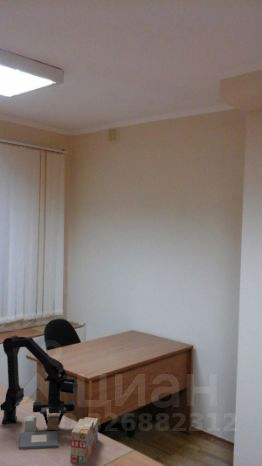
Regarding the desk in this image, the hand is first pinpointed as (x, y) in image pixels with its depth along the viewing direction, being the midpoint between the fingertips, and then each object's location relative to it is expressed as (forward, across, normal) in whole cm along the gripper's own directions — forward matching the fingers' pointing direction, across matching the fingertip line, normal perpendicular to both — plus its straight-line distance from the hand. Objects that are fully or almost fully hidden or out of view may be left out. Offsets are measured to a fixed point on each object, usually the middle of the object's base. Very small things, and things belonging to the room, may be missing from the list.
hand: (52, 425), depth 198 cm
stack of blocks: (+2, +13, -21) cm, 25 cm away
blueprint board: (+2, -6, -12) cm, 13 cm away
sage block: (+2, -10, 0) cm, 10 cm away
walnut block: (+1, 0, 0) cm, 1 cm away
